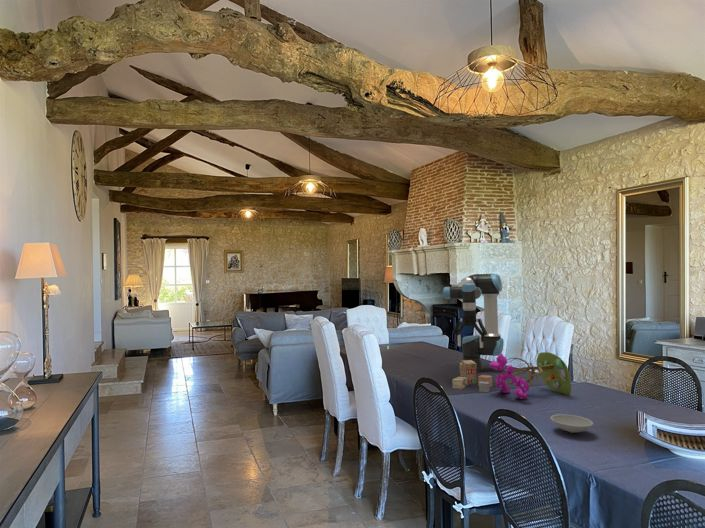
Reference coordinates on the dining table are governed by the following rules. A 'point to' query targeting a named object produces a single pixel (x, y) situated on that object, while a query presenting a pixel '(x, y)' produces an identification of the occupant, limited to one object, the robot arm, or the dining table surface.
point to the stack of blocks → (468, 371)
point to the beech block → (459, 382)
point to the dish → (571, 422)
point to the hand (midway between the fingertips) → (470, 346)
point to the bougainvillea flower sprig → (548, 368)
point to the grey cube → (484, 386)
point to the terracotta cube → (485, 379)
